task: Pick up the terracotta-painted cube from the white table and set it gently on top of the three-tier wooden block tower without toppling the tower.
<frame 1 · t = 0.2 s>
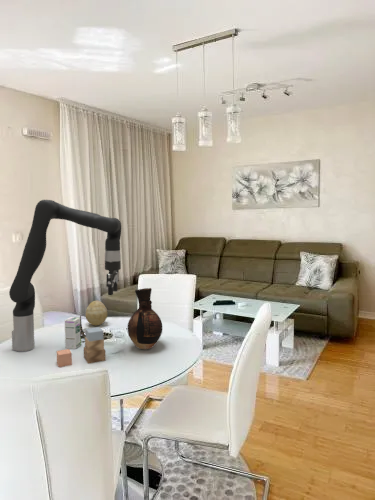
hand: (112, 293, 179), 29 cm above the table, tool pointing down, fingers open, 8 cm apart
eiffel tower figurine: (81, 338, 201), on the table
tower mid: (94, 348, 171), point 5 cm above the table, touching tower base, tower top
cube: (64, 363, 166), on the table
fossilized egg: (96, 325, 223), on the table
tower base: (94, 359, 172), on the table, touching tower mid
tower top: (94, 338, 171), point 10 cm above the table, touching tower mid
syrup box: (73, 347, 187), on the table
ceramic vessel: (145, 347, 188), on the table
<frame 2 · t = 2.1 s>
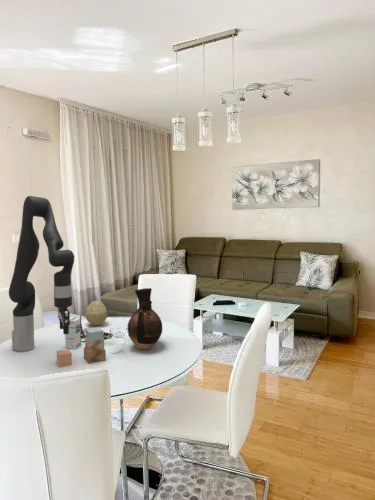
hand: (64, 331, 165), 15 cm above the table, tool pointing down, fingers open, 8 cm apart
nothing on the table moved.
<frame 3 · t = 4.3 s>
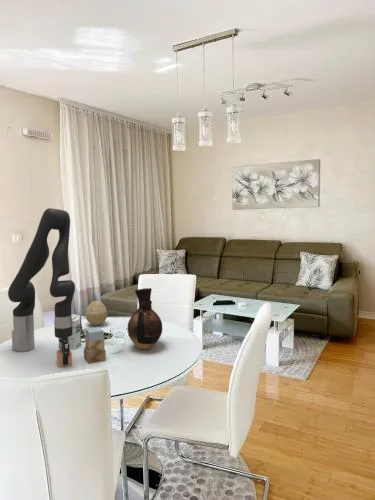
hand: (64, 361, 166), 1 cm above the table, tool pointing down, fingers closed on cube, 5 cm apart
cube: (64, 363, 166), on the table, touching gripper
everything else where it was.
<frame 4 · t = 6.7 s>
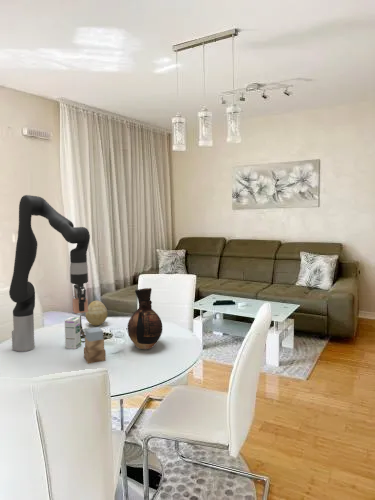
hand: (80, 309, 166), 24 cm above the table, tool pointing down, fingers closed on cube, 5 cm apart
cube: (80, 311, 167), point 23 cm above the table, touching gripper
everything else where it was.
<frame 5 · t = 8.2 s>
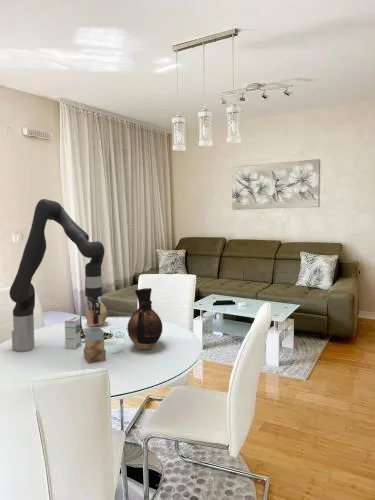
hand: (94, 321, 170), 18 cm above the table, tool pointing down, fingers closed on cube, 5 cm apart
cube: (94, 323, 170), point 17 cm above the table, touching gripper
everything else where it was.
when the fingers open (16 cm above the table, at t = 9.4 s): cube drops 1 cm, resting on tower top.
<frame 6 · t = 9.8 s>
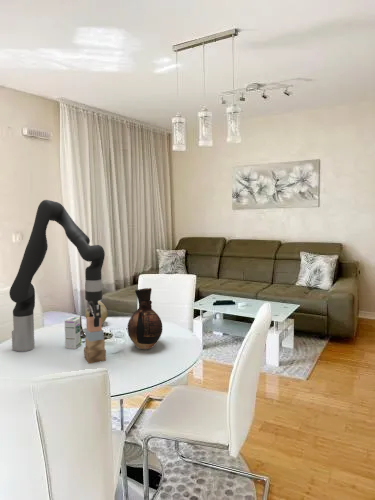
hand: (94, 324, 170), 16 cm above the table, tool pointing down, fingers open, 8 cm apart
tower mid: (95, 348, 171), point 5 cm above the table, touching tower top
cube: (94, 329, 170), point 14 cm above the table, touching tower top
tower base: (94, 359, 172), on the table
tower top: (94, 338, 171), point 10 cm above the table, touching cube, tower mid
everything else where it was.
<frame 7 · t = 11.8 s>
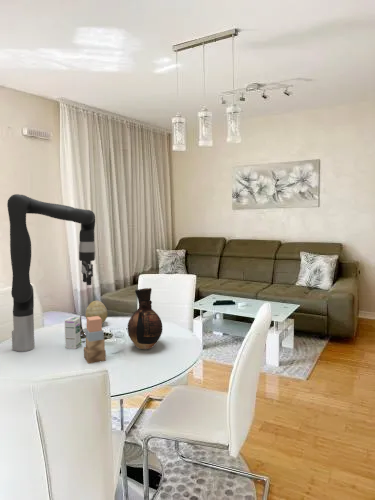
hand: (87, 283, 183), 32 cm above the table, tool pointing down, fingers open, 8 cm apart
tower mid: (95, 348, 171), point 5 cm above the table, touching tower base, tower top
tower base: (94, 359, 172), on the table, touching tower mid
everything else where it was.
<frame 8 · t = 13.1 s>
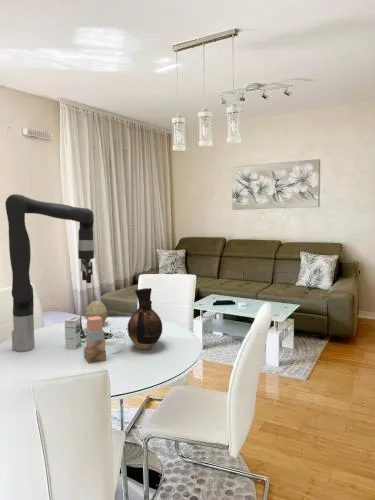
hand: (86, 281, 185), 33 cm above the table, tool pointing down, fingers open, 8 cm apart
nothing on the table moved.
at the end: cube 0.0 cm off-centre on the tower base, point 14.0 cm above the tower base's base; tower top tilted 0°; the gripper is holding nothing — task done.
